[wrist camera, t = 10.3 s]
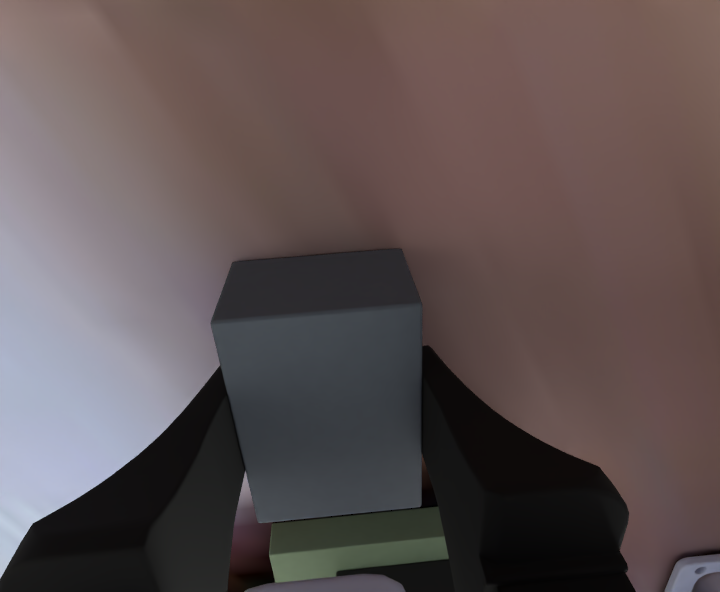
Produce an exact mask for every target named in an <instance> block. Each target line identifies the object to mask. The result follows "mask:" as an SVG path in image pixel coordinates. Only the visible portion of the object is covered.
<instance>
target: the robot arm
mask: <svg viewBox="0 0 720 592" xmlns="http://www.w3.org/2000/svg"><path fill="white" fill-rule="evenodd" d="M422 454H423V458H424V461H425V464H426V467H427V470H428V473H429V476H430V480H431V483H432V486H433V489H434V492H435V496H436V500H437V503H438V508H439V512H440V517H441V522H442V527H443V531H444V536H445V541H446V546H447V551H448V556H449V561H450V566H451V572H452V577H453V582H454V588H455V592H636V591H635V589H634V588H633V586H632V584H631V582H630V580H629V579H628V577H627V575H626V573H625V572H627V570H628V566H627V563H626V561H625V560H624V558H623V556H622V554H621V553H620V551H619V550H620V547H621V544H622V540H623V537H624V534H625V531H626V528H627V524H628V518H629V512H628V508H627V505H626V503H625V502H624V500H623V499H622V497H621V495H620V494H619V492H618V491H617V489H616V488H615V486H614V485H613V484H612V482H611V481H610V480H609V479H608V477H607V476H606V475H605V474H604V472H603V471H602V470H601V468H600V467H598V466H596V465H593V464H591V463H589V462H586V461H584V460H581V459H579V458H576V457H574V456H572V455H569V454H567V453H565V452H562V451H560V450H558V449H556V448H554V447H552V446H550V445H548V444H546V443H544V442H543V441H541V440H539V439H537V438H535V437H533V436H532V435H530V434H528V433H527V432H525V431H523V430H522V429H520V428H518V427H517V426H515V425H514V424H512V423H511V422H509V421H508V420H506V419H505V418H503V417H502V416H501V415H499V414H498V413H497V412H495V411H494V410H493V409H491V408H490V407H489V406H488V405H486V404H485V403H484V402H483V401H482V400H481V399H480V398H478V397H477V396H476V395H475V394H474V393H473V392H472V391H471V390H470V389H469V388H467V387H466V386H465V385H464V384H463V383H462V382H461V381H460V379H459V378H458V377H457V376H456V375H455V374H454V373H453V372H452V371H451V370H450V369H449V368H448V367H447V366H446V365H445V363H444V362H443V361H442V360H441V359H440V358H439V356H438V355H437V354H436V353H435V352H434V350H433V349H432V348H431V347H430V346H422ZM244 473H245V466H244V462H243V457H242V453H241V449H240V445H239V441H238V436H237V432H236V428H235V424H234V420H233V415H232V411H231V407H230V403H229V399H228V394H227V390H226V386H225V382H224V378H223V374H222V369H221V365H220V366H219V368H218V369H217V370H216V371H215V372H214V374H213V375H212V376H211V378H210V379H209V380H208V381H207V383H206V384H205V385H204V386H203V388H202V389H201V390H200V392H199V393H198V394H197V395H196V396H195V398H194V399H193V400H192V401H191V402H190V404H189V405H188V406H187V407H186V408H185V409H184V411H183V412H182V413H181V414H180V415H179V416H178V417H177V418H176V419H175V420H174V421H173V423H172V424H171V425H170V426H169V427H168V428H167V429H166V430H165V431H164V432H163V433H162V434H161V435H160V436H159V437H158V438H157V439H156V440H155V441H154V442H152V443H151V444H150V445H149V446H148V447H147V448H146V449H145V450H143V451H142V452H141V453H140V454H139V455H138V456H136V457H135V458H134V459H132V460H131V461H130V462H129V463H127V464H126V465H125V466H123V467H122V468H121V469H120V470H118V471H117V472H116V473H114V474H113V475H112V476H110V477H109V478H108V479H106V480H105V481H103V482H102V483H100V484H99V485H97V486H96V487H94V488H93V489H91V490H90V491H88V492H87V493H85V494H84V495H82V496H80V497H79V498H77V499H76V500H74V501H72V502H71V503H69V504H67V505H65V506H64V507H62V508H60V509H58V510H57V511H55V512H53V513H51V514H49V515H48V516H46V517H44V518H42V519H41V520H39V521H37V522H35V523H33V524H32V526H31V527H30V529H29V530H28V532H27V534H26V535H25V537H24V538H23V540H22V541H21V543H20V545H19V547H18V549H17V550H16V552H15V554H14V556H13V557H12V559H11V561H10V563H9V565H8V566H7V568H6V570H5V572H4V574H3V575H2V577H1V579H0V592H227V586H228V576H229V565H230V555H231V546H232V537H233V528H234V521H235V516H236V510H237V505H238V501H239V496H240V492H241V487H242V483H243V478H244ZM245 592H405V590H404V588H403V586H402V584H400V583H399V582H397V581H395V580H393V579H391V578H389V577H387V576H385V575H378V574H356V575H346V576H337V577H327V578H318V579H308V580H299V581H289V582H280V583H270V584H265V585H261V586H257V587H254V588H250V589H247V590H246V591H245ZM664 592H720V554H713V555H703V556H694V557H686V558H682V559H680V560H679V561H677V563H676V564H675V566H674V569H673V571H672V574H671V576H670V579H669V581H668V583H667V586H666V588H665V591H664Z"/></svg>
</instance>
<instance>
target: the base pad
mask: <svg viewBox="0 0 720 592" xmlns="http://www.w3.org/2000/svg"><path fill="white" fill-rule="evenodd" d="M269 557H270V561H271V565H272V569H273V574H274V578H275V582H276V583H280V582H289V581H299V580H308V579H318V578H327V577H336V573H337V571H344V570H354V569H363V568H373V567H382V566H391V565H401V564H410V563H420V562H429V561H439V560H448V559H449V556H448V551H447V546H446V541H445V536H444V531H443V527H442V522H441V517H440V512H439V508H438V507H428V508H418V509H408V510H399V511H389V512H379V513H369V514H359V515H349V516H340V517H330V518H320V519H310V520H300V521H291V522H281V523H273V524H272V529H271V540H270V550H269Z"/></svg>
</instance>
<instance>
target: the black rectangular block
mask: <svg viewBox="0 0 720 592" xmlns="http://www.w3.org/2000/svg"><path fill="white" fill-rule="evenodd" d="M356 574H378V575H385V576H387V577H389V578H391V579H393V580H395V581H397V582H399V583H400V584H402V586H403V588H404V590H405V592H455V588H454V582H453V577H452V572H451V566H450V561H449V559H448V560H439V561H429V562H420V563H410V564H401V565H391V566H382V567H373V568H363V569H354V570H344V571H337V573H336V577H337V576H346V575H356Z"/></svg>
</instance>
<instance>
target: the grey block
mask: <svg viewBox="0 0 720 592" xmlns="http://www.w3.org/2000/svg"><path fill="white" fill-rule="evenodd" d="M211 327H212V332H213V336H214V340H215V344H216V348H217V353H218V357H219V361H220V365H221V369H222V374H223V378H224V382H225V386H226V390H227V394H228V399H229V403H230V407H231V411H232V415H233V420H234V424H235V428H236V432H237V436H238V441H239V445H240V449H241V453H242V457H243V462H244V466H245V470H246V474H247V478H248V483H249V487H250V491H251V495H252V499H253V504H254V508H255V512H256V516H257V520H258V522H259V523H267V522H277V521H287V520H297V519H306V518H316V517H326V516H336V515H346V514H356V513H366V512H376V511H385V510H395V509H405V508H415V507H420V506H421V499H422V302H421V300H420V297H419V294H418V292H417V289H416V286H415V284H414V281H413V278H412V276H411V273H410V270H409V268H408V265H407V262H406V259H405V257H404V254H403V251H402V249H386V250H374V251H362V252H350V253H337V254H325V255H313V256H301V257H288V258H276V259H264V260H252V261H239V262H233V263H232V265H231V268H230V271H229V273H228V276H227V279H226V281H225V284H224V287H223V290H222V292H221V295H220V298H219V301H218V303H217V306H216V309H215V312H214V314H213V317H212V320H211Z"/></svg>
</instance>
